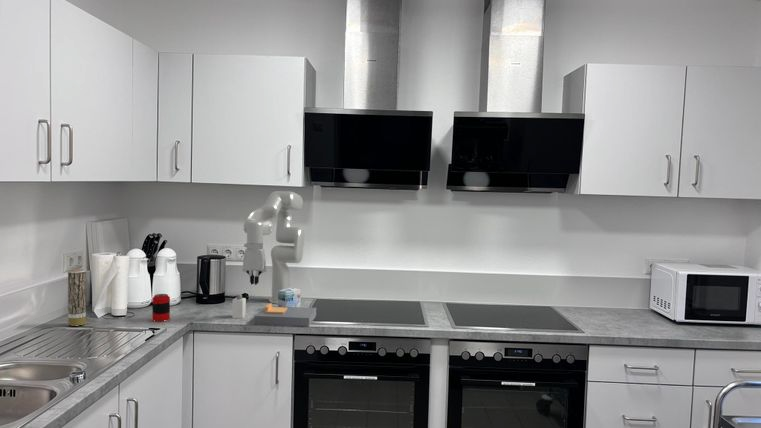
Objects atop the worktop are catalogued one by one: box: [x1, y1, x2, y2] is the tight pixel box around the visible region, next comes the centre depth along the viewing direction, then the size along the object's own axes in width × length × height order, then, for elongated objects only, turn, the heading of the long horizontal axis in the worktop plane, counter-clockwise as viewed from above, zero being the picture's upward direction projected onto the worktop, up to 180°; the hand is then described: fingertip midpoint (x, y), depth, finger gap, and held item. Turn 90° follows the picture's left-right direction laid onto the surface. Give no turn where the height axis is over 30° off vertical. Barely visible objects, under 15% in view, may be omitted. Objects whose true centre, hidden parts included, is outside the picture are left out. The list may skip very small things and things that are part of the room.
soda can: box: [151, 293, 171, 321], centre depth 245 cm, size 8×8×12 cm
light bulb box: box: [277, 287, 302, 307], centre depth 272 cm, size 11×7×11 cm, turn 143°
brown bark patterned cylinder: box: [67, 268, 87, 326], centre depth 233 cm, size 7×7×25 cm
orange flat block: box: [264, 302, 287, 314], centre depth 252 cm, size 9×9×3 cm
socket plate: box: [253, 305, 317, 327], centre depth 252 cm, size 20×26×4 cm
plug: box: [231, 294, 247, 319], centre depth 255 cm, size 5×5×11 cm
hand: (254, 283), depth 252 cm, fingers closed
